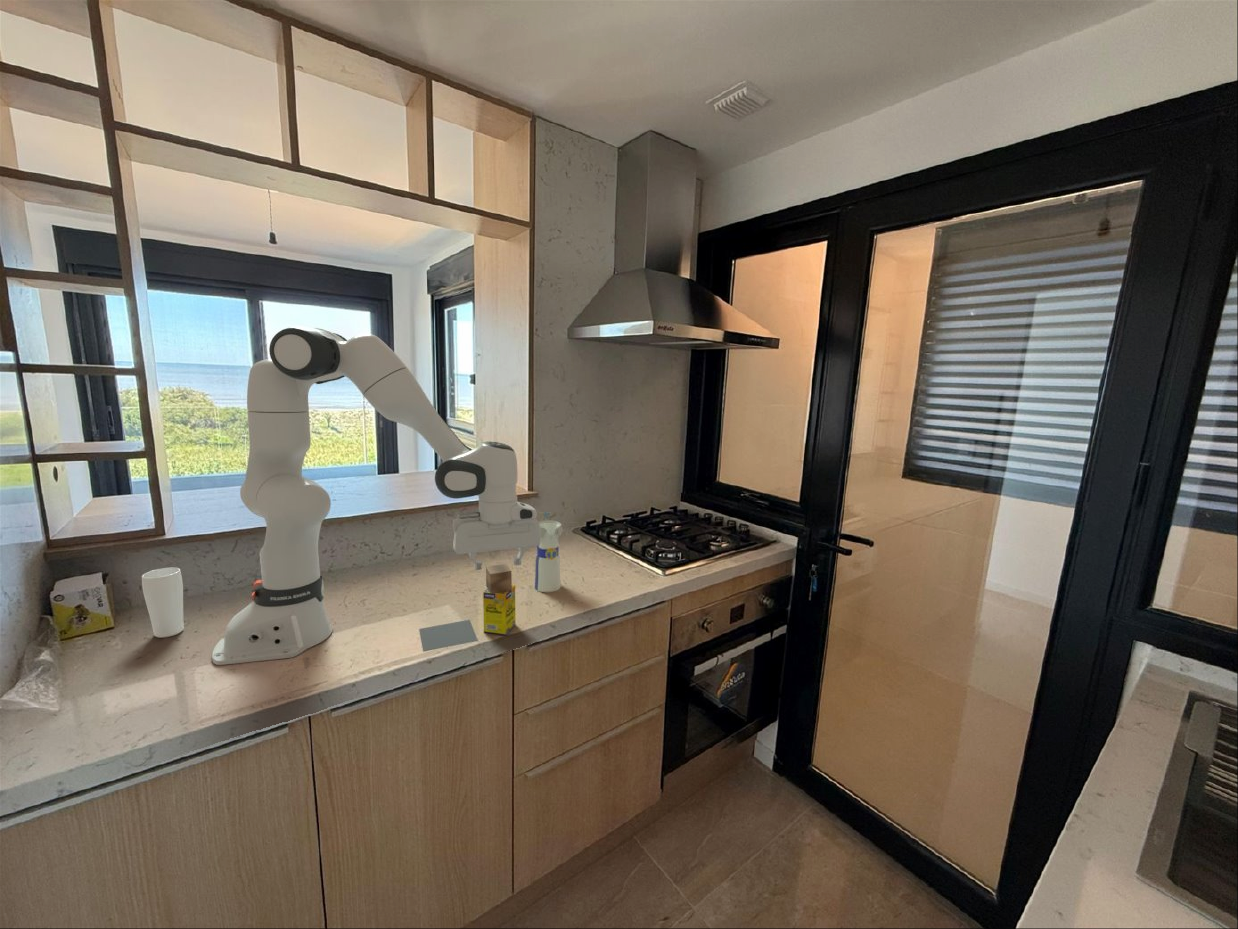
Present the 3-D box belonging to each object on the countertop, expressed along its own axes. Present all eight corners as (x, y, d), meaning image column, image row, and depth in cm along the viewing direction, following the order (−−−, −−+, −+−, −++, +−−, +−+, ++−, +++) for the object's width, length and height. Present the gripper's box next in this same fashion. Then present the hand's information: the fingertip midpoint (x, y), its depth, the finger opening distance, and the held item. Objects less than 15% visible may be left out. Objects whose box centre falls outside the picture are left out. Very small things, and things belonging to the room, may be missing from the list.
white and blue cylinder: (566, 589, 147) (567, 507, 142) (538, 594, 143) (538, 510, 139) (557, 579, 154) (558, 501, 150) (530, 583, 150) (530, 503, 146)
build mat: (423, 653, 111) (423, 651, 111) (419, 630, 121) (419, 628, 121) (477, 641, 117) (477, 640, 117) (469, 621, 126) (469, 619, 126)
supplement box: (506, 637, 119) (505, 594, 117) (483, 634, 120) (482, 592, 118) (516, 625, 125) (515, 584, 123) (494, 623, 126) (493, 582, 124)
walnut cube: (490, 594, 117) (490, 574, 116) (486, 586, 122) (485, 566, 121) (511, 590, 119) (511, 570, 118) (506, 582, 124) (506, 563, 123)
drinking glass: (157, 628, 119) (149, 569, 116) (193, 624, 121) (185, 565, 119) (144, 642, 112) (134, 580, 110) (181, 637, 115) (173, 576, 113)
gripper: (453, 517, 110) (454, 577, 112) (543, 511, 119) (542, 566, 121) (450, 510, 115) (450, 567, 118) (535, 505, 124) (534, 558, 126)
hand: (497, 566), depth 119 cm, fingers open, 8 cm apart
